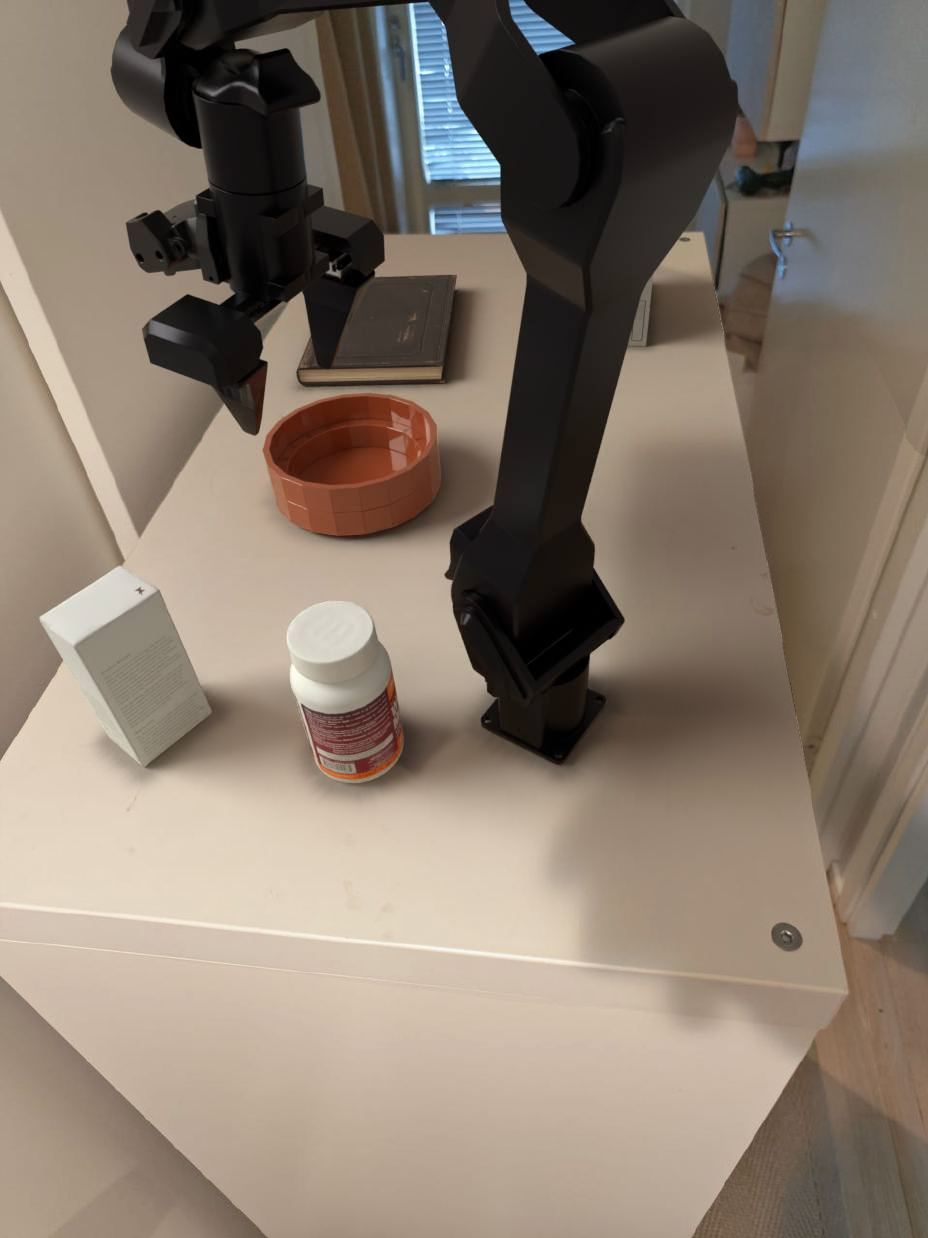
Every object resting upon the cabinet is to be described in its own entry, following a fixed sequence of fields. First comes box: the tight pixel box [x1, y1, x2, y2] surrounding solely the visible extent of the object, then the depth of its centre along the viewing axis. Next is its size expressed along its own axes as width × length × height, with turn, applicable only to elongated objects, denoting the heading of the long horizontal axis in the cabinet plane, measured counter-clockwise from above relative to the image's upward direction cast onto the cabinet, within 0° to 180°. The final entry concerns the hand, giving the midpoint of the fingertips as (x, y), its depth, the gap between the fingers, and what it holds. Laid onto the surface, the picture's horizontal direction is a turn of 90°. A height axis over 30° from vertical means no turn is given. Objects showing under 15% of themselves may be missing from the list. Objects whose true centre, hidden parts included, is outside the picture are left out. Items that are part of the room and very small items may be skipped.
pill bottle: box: [286, 600, 405, 784], centre depth 53 cm, size 6×6×11 cm
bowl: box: [262, 392, 442, 537], centre depth 76 cm, size 15×15×6 cm
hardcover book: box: [295, 274, 459, 387], centre depth 99 cm, size 16×23×2 cm
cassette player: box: [627, 274, 654, 347], centre depth 97 cm, size 16×3×10 cm, turn 171°
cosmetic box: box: [38, 565, 213, 768], centre depth 55 cm, size 6×4×12 cm
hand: (289, 398), depth 61 cm, fingers open, 9 cm apart
